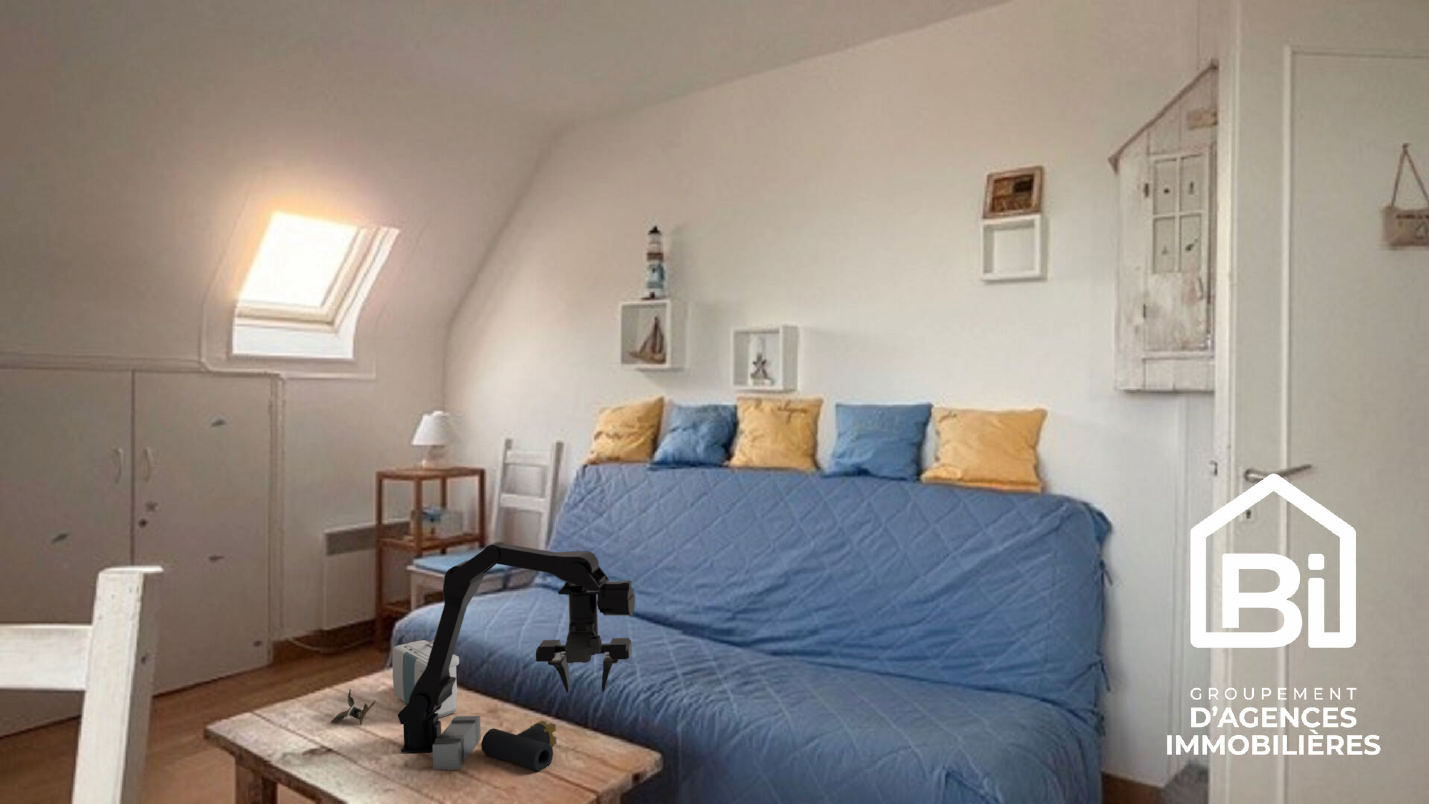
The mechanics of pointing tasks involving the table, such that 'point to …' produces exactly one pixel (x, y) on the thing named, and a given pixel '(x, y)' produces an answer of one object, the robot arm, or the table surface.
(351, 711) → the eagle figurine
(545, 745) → the pipe connector
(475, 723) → the grey stepped block
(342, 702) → the table surface
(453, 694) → the stereo radio cassette player
